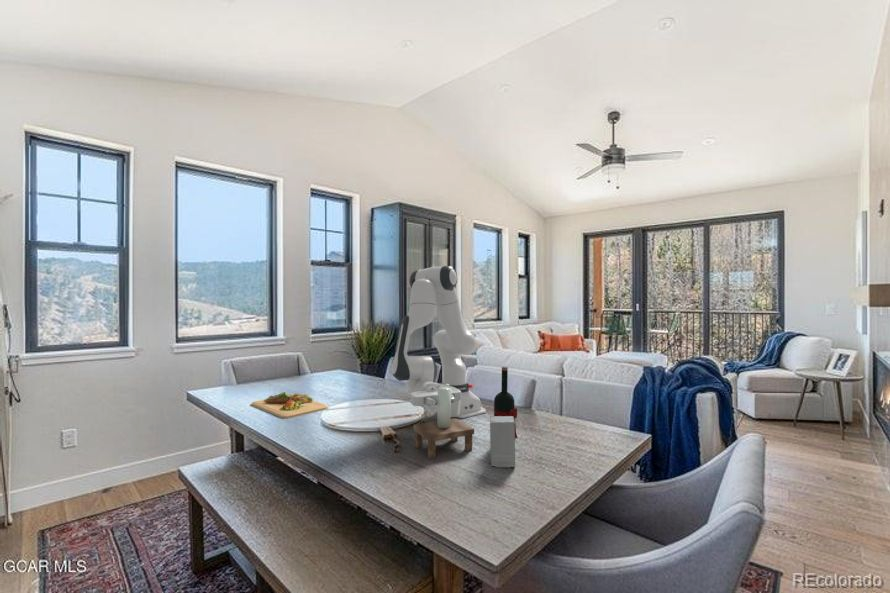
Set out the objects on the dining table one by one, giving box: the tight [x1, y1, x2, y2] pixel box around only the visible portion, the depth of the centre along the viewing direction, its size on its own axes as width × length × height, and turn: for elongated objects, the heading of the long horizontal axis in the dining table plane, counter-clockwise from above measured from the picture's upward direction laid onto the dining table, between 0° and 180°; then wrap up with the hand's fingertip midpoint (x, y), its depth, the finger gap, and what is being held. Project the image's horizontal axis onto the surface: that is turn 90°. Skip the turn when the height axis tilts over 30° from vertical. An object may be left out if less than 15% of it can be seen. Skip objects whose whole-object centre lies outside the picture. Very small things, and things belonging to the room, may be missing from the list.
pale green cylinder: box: [436, 387, 452, 428], centre depth 164 cm, size 5×5×14 cm
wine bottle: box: [493, 366, 519, 440], centre depth 165 cm, size 8×10×30 cm
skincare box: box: [489, 415, 516, 468], centre depth 150 cm, size 8×7×16 cm
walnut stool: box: [413, 417, 475, 459], centre depth 164 cm, size 18×14×8 cm
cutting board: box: [251, 391, 329, 419], centre depth 218 cm, size 35×23×8 cm
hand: (444, 401), depth 163 cm, fingers open, 6 cm apart
